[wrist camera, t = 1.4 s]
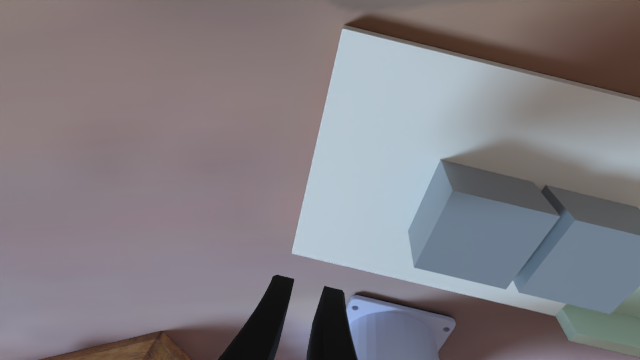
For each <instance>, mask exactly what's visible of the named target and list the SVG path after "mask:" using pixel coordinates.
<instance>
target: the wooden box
mask: <svg viewBox="0 0 640 360" xmlns="http://www.w3.org/2000/svg"><path fill="white" fill-rule="evenodd" d="M40 360H191V359H190V358H189V357H188V356H187V355H186V354H185V353H184V352H183V351H182V350H181V349H180V348H179V347H178V346H177V345H176V344H175V343H174V342H173V341H172V340H171V339H170V338H169V337H168V336H167V335H166V334H165V333H164V332H162V331H160V332H154V333H150V334H146V335H142V336H138V337H134V338H130V339H125V340H122V341H118V342H113V343H109V344H104V345H100V346H96V347H91V348H87V349H83V350H79V351H75V352H71V353H66V354H62V355H57V356H53V357H49V358H44V359H40Z"/></svg>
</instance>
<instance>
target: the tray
mask: <svg viewBox="0 0 640 360" xmlns="http://www.w3.org/2000/svg"><path fill="white" fill-rule="evenodd" d="M556 318H557V320H558V322H559V324H560V326H561V327H562V329H563V331H564V333H565V335H566V336H567V338H568V340H569V341H572V342H576V343H580V344H584V345H589V346H593V347H597V348H601V349H605V350H610V351H614V352H618V353H622V354H626V355H631V356H635V357H639V358H640V286H639V287H638V288H637V289H636V290H635V291H634V292H633V293H632V294H631V295H630V296H629V297H628V298H627V299H626V300H625V301H624V302H623V303H621V304H620V305H619V306H618V307H617V308H616V309H615V310H614V311H613V312H612V313H611V314H607V313H603V312H598V311H594V310H590V309H586V308H582V307H577V306H573V305H569V304H566V305H565V306H564V307H563V308H562V309H561V310H560V312H559V313H558V314H557V315H556Z"/></svg>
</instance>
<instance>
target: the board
mask: <svg viewBox="0 0 640 360" xmlns="http://www.w3.org/2000/svg"><path fill="white" fill-rule="evenodd" d="M440 159H441V160H445V161H449V162H453V163H457V164H462V165H466V166H470V167H474V168H478V169H482V170H486V171H490V172H495V173H499V174H503V175H507V176H511V177H515V178H519V179H523V180H528V181H532V182H533V183H534V184H535V185H536V186H537V188H538V189H539V190H540V191H542V190H543V188H544V187H545V185H548V186H552V187H556V188H561V189H565V190H569V191H573V192H577V193H581V194H585V195H589V196H594V197H598V198H602V199H606V200H610V201H614V202H618V203H622V204H627V205H631V206H635V207H638V208H639V209H640V98H639V97H635V96H631V95H627V94H623V93H619V92H615V91H610V90H606V89H602V88H598V87H594V86H590V85H586V84H582V83H578V82H574V81H570V80H566V79H562V78H558V77H554V76H550V75H545V74H541V73H537V72H533V71H529V70H525V69H521V68H517V67H513V66H509V65H505V64H501V63H497V62H493V61H489V60H485V59H481V58H476V57H472V56H468V55H464V54H460V53H456V52H452V51H448V50H444V49H440V48H436V47H432V46H428V45H424V44H420V43H416V42H412V41H407V40H403V39H399V38H395V37H391V36H387V35H383V34H379V33H375V32H371V31H367V30H363V29H359V28H355V27H351V26H347V25H344V26H343V28H342V33H341V37H340V42H339V46H338V50H337V55H336V59H335V64H334V68H333V72H332V77H331V81H330V86H329V90H328V95H327V99H326V103H325V108H324V112H323V117H322V121H321V125H320V130H319V134H318V139H317V143H316V148H315V152H314V156H313V161H312V165H311V170H310V174H309V178H308V183H307V187H306V192H305V196H304V201H303V205H302V209H301V214H300V218H299V223H298V227H297V231H296V236H295V240H294V245H293V249H292V254H296V255H300V256H305V257H309V258H313V259H317V260H321V261H326V262H330V263H334V264H338V265H342V266H347V267H351V268H355V269H359V270H363V271H368V272H372V273H376V274H380V275H384V276H389V277H393V278H397V279H401V280H405V281H410V282H414V283H418V284H422V285H427V286H431V287H435V288H439V289H443V290H448V291H452V292H456V293H460V294H464V295H469V296H473V297H477V298H481V299H485V300H490V301H494V302H498V303H502V304H506V305H511V306H515V307H519V308H523V309H527V310H532V311H536V312H540V313H544V314H548V315H553V316H556V315H557V314H558V313H559V312H560V310H561V309H562V308H563V307H564V306H565V305H566V304H565V303H561V302H556V301H552V300H548V299H544V298H540V297H535V296H531V295H527V294H523V293H519V292H518V290H517V288H516V286H515V284H514V281H512V282H511V283H510V285H509V286H508V287H507V289H502V288H498V287H493V286H489V285H485V284H481V283H477V282H472V281H468V280H464V279H460V278H456V277H451V276H447V275H443V274H439V273H435V272H431V271H426V270H422V269H418V268H414V265H413V259H412V253H411V247H410V241H409V234H408V230H409V227H410V225H411V223H412V221H413V219H414V217H415V214H416V212H417V210H418V208H419V206H420V203H421V201H422V199H423V197H424V195H425V192H426V190H427V188H428V186H429V184H430V181H431V179H432V177H433V175H434V173H435V170H436V168H437V166H438V164H439V162H440Z"/></svg>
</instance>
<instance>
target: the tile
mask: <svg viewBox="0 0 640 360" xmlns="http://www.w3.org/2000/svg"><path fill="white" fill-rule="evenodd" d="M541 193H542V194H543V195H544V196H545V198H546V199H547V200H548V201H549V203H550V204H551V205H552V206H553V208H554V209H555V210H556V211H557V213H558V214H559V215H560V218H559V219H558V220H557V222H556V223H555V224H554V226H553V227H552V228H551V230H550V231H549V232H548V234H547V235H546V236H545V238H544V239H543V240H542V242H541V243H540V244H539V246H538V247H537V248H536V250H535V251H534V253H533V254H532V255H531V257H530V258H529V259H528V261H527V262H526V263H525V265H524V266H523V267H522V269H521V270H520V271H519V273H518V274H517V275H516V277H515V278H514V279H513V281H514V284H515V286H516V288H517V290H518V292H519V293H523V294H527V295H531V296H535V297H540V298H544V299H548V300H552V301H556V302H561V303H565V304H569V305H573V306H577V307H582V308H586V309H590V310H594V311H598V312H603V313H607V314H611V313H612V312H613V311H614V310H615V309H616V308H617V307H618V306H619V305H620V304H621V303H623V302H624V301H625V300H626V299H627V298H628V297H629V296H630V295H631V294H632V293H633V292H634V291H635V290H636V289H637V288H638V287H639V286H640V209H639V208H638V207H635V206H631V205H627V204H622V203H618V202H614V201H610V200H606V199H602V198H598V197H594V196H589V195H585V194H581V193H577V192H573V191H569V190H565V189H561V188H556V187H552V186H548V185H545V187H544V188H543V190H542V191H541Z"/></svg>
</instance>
